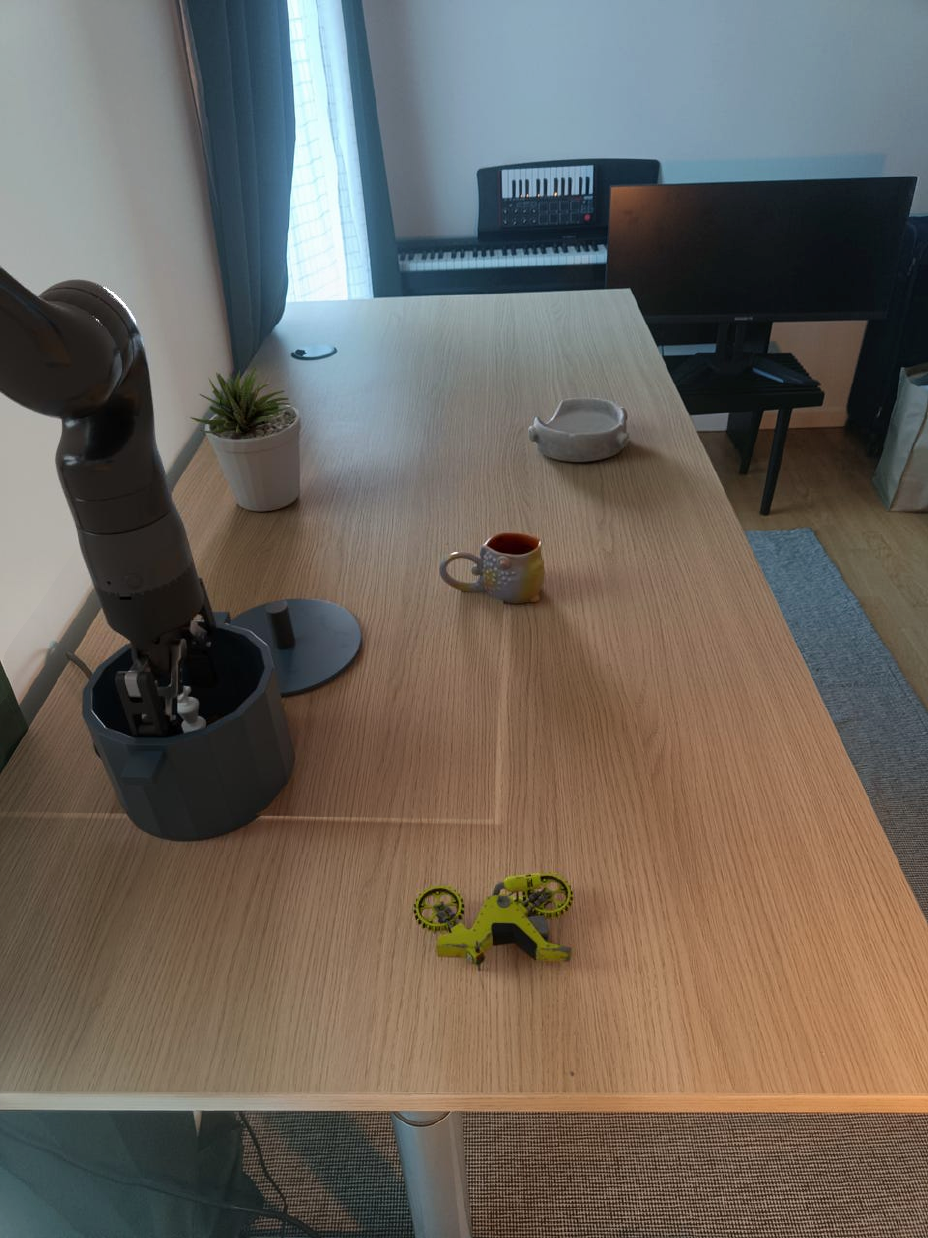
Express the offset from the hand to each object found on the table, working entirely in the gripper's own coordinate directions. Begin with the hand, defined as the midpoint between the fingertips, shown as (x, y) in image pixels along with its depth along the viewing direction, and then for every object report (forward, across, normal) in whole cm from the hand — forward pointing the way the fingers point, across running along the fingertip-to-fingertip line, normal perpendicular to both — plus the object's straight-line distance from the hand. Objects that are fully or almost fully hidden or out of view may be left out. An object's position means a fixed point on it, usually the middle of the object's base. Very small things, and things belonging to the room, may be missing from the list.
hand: (191, 718), depth 76 cm
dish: (+7, -67, +37) cm, 77 cm away
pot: (+7, 0, 0) cm, 7 cm away
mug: (+7, -29, +25) cm, 39 cm away
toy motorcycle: (+7, +16, +27) cm, 32 cm away
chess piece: (+7, 0, 0) cm, 7 cm away
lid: (+6, -18, +3) cm, 19 cm away
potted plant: (+7, -52, -8) cm, 53 cm away
